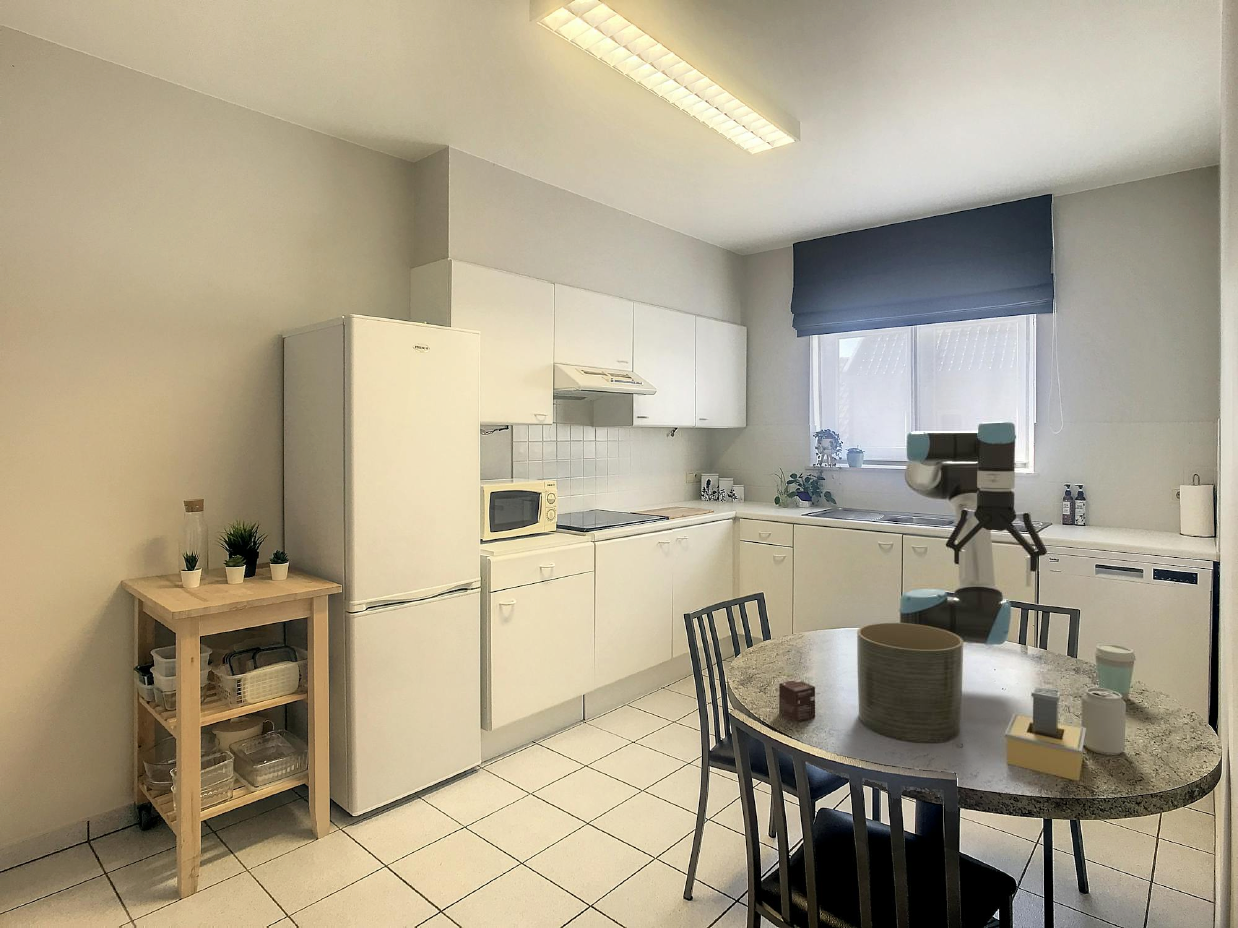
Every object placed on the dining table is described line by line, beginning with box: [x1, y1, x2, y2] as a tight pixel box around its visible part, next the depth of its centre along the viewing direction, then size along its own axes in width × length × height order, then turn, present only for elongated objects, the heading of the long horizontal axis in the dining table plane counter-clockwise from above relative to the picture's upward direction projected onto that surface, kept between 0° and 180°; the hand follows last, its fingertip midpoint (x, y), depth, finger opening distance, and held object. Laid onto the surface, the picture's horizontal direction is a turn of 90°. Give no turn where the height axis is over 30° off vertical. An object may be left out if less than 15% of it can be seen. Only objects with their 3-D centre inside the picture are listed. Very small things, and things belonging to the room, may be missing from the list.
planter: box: [856, 622, 964, 744], centre depth 157 cm, size 22×22×20 cm
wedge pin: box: [1030, 685, 1062, 739], centre depth 138 cm, size 5×5×14 cm
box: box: [778, 679, 816, 723], centre depth 162 cm, size 6×6×7 cm
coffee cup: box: [1093, 643, 1137, 701], centre depth 172 cm, size 8×9×12 cm
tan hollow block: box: [1004, 712, 1086, 782], centre depth 138 cm, size 13×13×6 cm
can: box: [1080, 687, 1127, 756], centre depth 143 cm, size 8×8×12 cm
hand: (994, 582), depth 158 cm, fingers open, 13 cm apart
